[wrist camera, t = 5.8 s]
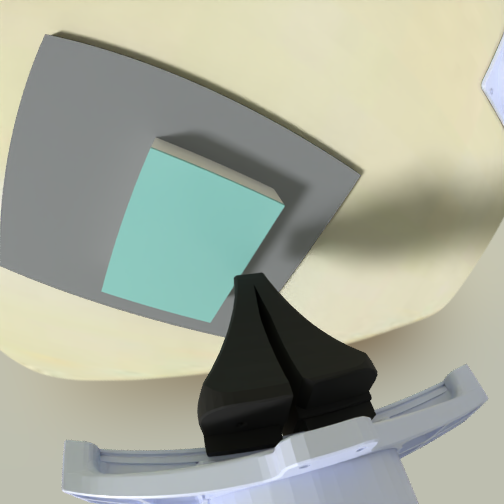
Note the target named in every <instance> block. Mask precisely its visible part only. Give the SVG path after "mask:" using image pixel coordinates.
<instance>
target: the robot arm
mask: <svg viewBox="0 0 504 504" xmlns="http://www.w3.org/2000/svg"><path fill="white" fill-rule="evenodd" d="M481 86H482V90H483V91H484V93H485V95H486V96H487V98H488V100H489V101H490V103H491V105H492V106H493V108H494V110H495V112H496V113H497V115H498V117H499V119H500V121H501V122H502V124H503V126H504V34H503V36H502V39H501V41H500V44H499V46H498V48H497V51H496V53H495V55H494V57H493V60H492V62H491V64H490V66H489V68H488V71H487V73H486V75H485V77H484V79H483V81H482V85H481ZM234 295H235V298H234V305H233V311H232V315H231V320H230V324H229V328H228V331H227V334H226V337H225V340H224V343H223V345H222V348H221V350H220V353H219V355H218V357H217V359H216V361H215V363H214V365H213V367H212V369H211V371H210V373H209V374H208V376H207V378H206V379H205V381H204V383H203V386H202V389H201V393H200V397H199V401H198V420H199V425H200V427H201V430H202V432H203V435H204V442H205V448H195V449H180V450H148V451H147V450H146V451H145V450H143V451H142V450H135V451H134V450H109V449H99V448H98V447H97V446H96V445H95V444H93V443H90V442H86V441H75V440H65V441H64V453H63V468H62V491H63V492H65V493H67V494H70V495H72V496H75V497H77V498H80V499H82V500H85V501H88V502H90V503H97V504H419V503H418V501H417V498H416V496H415V493H414V491H413V488H412V486H411V484H410V481H409V479H408V476H407V474H406V472H405V469H404V467H403V465H402V463H401V460H400V459H401V458H402V457H404V456H406V455H408V454H410V453H412V452H414V451H416V450H418V449H419V448H421V447H423V446H425V445H427V444H428V443H430V442H432V441H433V440H435V439H437V438H438V437H440V436H442V435H443V434H445V433H447V432H448V431H450V430H452V429H453V428H455V427H456V426H458V425H460V424H461V423H463V422H464V421H465V420H467V418H469V417H470V416H471V415H472V414H473V413H474V412H475V411H476V410H478V409H479V408H480V407H481V406H482V405H483V404H484V403H485V402H486V401H487V400H488V397H487V395H486V393H485V392H484V390H483V388H482V387H481V385H480V384H479V382H478V381H477V379H476V377H475V376H474V374H473V373H472V371H471V370H470V368H469V367H468V365H467V364H465V365H463V366H461V367H459V368H457V369H455V370H453V371H451V372H450V373H449V374H448V375H447V376H446V377H445V379H444V381H442V382H440V383H438V384H436V385H434V386H432V387H430V388H428V389H425V390H424V391H421V392H419V393H416V394H414V395H412V396H409V397H407V398H405V399H403V400H400V401H397V402H395V403H392V404H390V405H387V406H384V407H382V408H379V409H376V410H374V409H373V406H372V404H371V402H370V400H371V395H370V392H369V390H370V388H371V386H372V385H373V383H374V381H375V380H376V377H377V370H376V369H375V367H374V365H373V363H372V361H371V360H370V358H369V357H368V356H367V354H366V353H364V352H362V351H359V350H357V349H354V348H352V347H350V346H348V345H346V344H344V343H342V342H340V341H338V340H336V339H334V338H333V337H331V336H330V335H328V334H326V333H325V332H323V331H322V330H320V329H319V328H317V327H316V326H315V325H313V324H312V323H311V322H309V321H308V320H307V319H306V318H304V317H303V316H302V315H301V314H300V313H299V312H298V311H297V310H296V309H294V308H293V307H292V306H291V305H290V304H289V303H288V302H287V301H286V299H285V298H284V297H283V296H282V295H281V294H280V293H279V292H278V291H277V290H276V288H275V287H274V286H273V285H272V284H271V282H270V281H269V280H268V278H267V277H266V276H265V274H264V273H262V272H261V273H253V274H244V275H236V276H235V277H234ZM282 434H283V436H282Z"/></svg>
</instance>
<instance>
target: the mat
mask: <svg viewBox="0 0 504 504" xmlns="http://www.w3.org/2000/svg"><path fill="white" fill-rule="evenodd" d="M155 138H159V139H161V140H164V141H166V142H169V143H171V144H174V145H176V146H179V147H181V148H184V149H186V150H188V151H191V152H193V153H196V154H198V155H200V156H203V157H205V158H207V159H210V160H212V161H214V162H216V163H219V164H221V165H223V166H226V167H228V168H230V169H232V170H234V171H237V172H239V173H241V174H243V175H245V176H248V177H250V178H252V179H254V180H256V181H258V182H261V183H263V184H265V185H267V186H269V187H271V188H273V189H274V190H275V191H276V193H277V194H278V196H279V197H280V199H281V200H282V202H283V204H284V205H285V207H284V208H283V210H282V211H281V213H280V214H279V216H278V218H277V219H276V221H275V222H274V224H273V225H272V227H271V229H270V230H269V232H268V233H267V235H266V236H265V238H264V240H263V241H262V243H261V244H260V246H259V247H258V249H257V251H256V252H255V254H254V255H253V257H252V258H251V260H250V262H249V263H248V265H247V266H246V268H245V269H244V271H243V272H242V274H241V275H244V274H253V273H261V272H262V273H264V274H265V276H266V277H267V278H268V280H269V281H270V282H271V284H272V285H273V286H274V287H275V288H276V290H277V291H278V292H279V291H280V290H281V289H282V287H283V286H284V284H285V283H286V282H287V280H288V279H289V278H290V276H291V275H292V274H293V272H294V271H295V269H296V268H297V267H298V265H299V264H300V263H301V261H302V260H303V258H304V257H305V256H306V254H307V253H308V251H309V250H310V249H311V247H312V246H313V244H314V243H315V242H316V240H317V239H318V237H319V236H320V234H321V233H322V232H323V230H324V229H325V227H326V226H327V224H328V223H329V222H330V220H331V219H332V217H333V216H334V214H335V213H336V211H337V210H338V209H339V207H340V206H341V204H342V203H343V201H344V200H345V198H346V197H347V195H348V194H349V192H350V191H351V189H352V188H353V186H354V185H355V183H356V182H357V180H358V179H359V177H360V176H361V175H360V174H359V173H357V172H356V171H354V170H353V169H352V168H350V167H349V166H347V165H345V164H344V163H342V162H341V161H339V160H338V159H336V158H335V157H333V156H332V155H330V154H328V153H327V152H325V151H324V150H322V149H320V148H319V147H317V146H316V145H314V144H312V143H311V142H309V141H307V140H306V139H304V138H302V137H301V136H299V135H297V134H295V133H294V132H292V131H290V130H288V129H287V128H285V127H283V126H281V125H280V124H278V123H276V122H274V121H272V120H270V119H269V118H267V117H265V116H263V115H261V114H259V113H257V112H255V111H254V110H252V109H250V108H248V107H246V106H244V105H242V104H240V103H238V102H236V101H234V100H232V99H230V98H227V97H225V96H223V95H221V94H219V93H217V92H215V91H213V90H210V89H208V88H206V87H204V86H202V85H199V84H197V83H195V82H192V81H190V80H188V79H185V78H183V77H181V76H178V75H176V74H173V73H171V72H168V71H166V70H163V69H161V68H158V67H155V66H153V65H150V64H147V63H144V62H142V61H139V60H136V59H133V58H130V57H127V56H124V55H121V54H118V53H115V52H112V51H109V50H105V49H102V48H99V47H95V46H92V45H88V44H85V43H81V42H77V41H73V40H69V39H65V38H61V37H56V36H52V35H46V34H45V36H44V38H43V41H42V43H41V45H40V48H39V50H38V53H37V55H36V58H35V60H34V63H33V65H32V68H31V71H30V74H29V77H28V80H27V83H26V86H25V89H24V92H23V95H22V99H21V102H20V106H19V109H18V113H17V117H16V121H15V125H14V129H13V134H12V138H11V143H10V148H9V153H8V159H7V165H6V172H5V179H4V187H3V196H2V207H1V222H0V266H1V267H4V268H6V269H8V270H11V271H13V272H15V273H18V274H20V275H23V276H25V277H28V278H30V279H33V280H35V281H38V282H40V283H43V284H46V285H48V286H51V287H54V288H56V289H59V290H62V291H65V292H68V293H70V294H73V295H76V296H79V297H82V298H85V299H88V300H91V301H94V302H97V303H100V304H103V305H106V306H109V307H113V308H116V309H119V310H122V311H126V312H129V313H132V314H136V315H139V316H143V317H146V318H150V319H153V320H157V321H161V322H164V323H168V324H172V325H176V326H180V327H184V328H188V329H192V330H196V331H200V332H204V333H208V334H213V335H217V336H222V337H226V334H227V331H228V328H229V324H230V320H231V315H232V311H233V305H234V298H235V295H234V287H233V288H232V290H231V291H230V293H229V294H228V296H227V298H226V299H225V301H224V302H223V304H222V305H221V307H220V308H219V310H218V312H217V313H216V315H215V316H214V318H213V319H212V321H211V323H209V322H205V321H201V320H197V319H193V318H190V317H186V316H182V315H178V314H175V313H171V312H167V311H164V310H160V309H157V308H153V307H150V306H146V305H143V304H140V303H136V302H133V301H130V300H127V299H123V298H120V297H117V296H114V295H111V294H108V293H105V292H101V291H102V287H103V284H104V280H105V276H106V272H107V269H108V265H109V262H110V258H111V255H112V252H113V248H114V245H115V242H116V239H117V236H118V233H119V230H120V226H121V223H122V221H123V218H124V215H125V212H126V209H127V206H128V203H129V201H130V198H131V195H132V193H133V190H134V187H135V185H136V182H137V179H138V177H139V174H140V172H141V169H142V167H143V165H144V162H145V160H146V157H147V155H148V153H149V150H150V148H151V146H152V144H153V142H154V140H155Z"/></svg>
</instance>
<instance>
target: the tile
mask: <svg viewBox="0 0 504 504" xmlns="http://www.w3.org/2000/svg"><path fill="white" fill-rule="evenodd" d="M284 207H285V205H284V204H283V202H282V200H281V199H280V197H279V196H278V194H277V193H276V191H275V190H274V189H273V188H271V187H269V186H267V185H265V184H263V183H261V182H258V181H256V180H254V179H252V178H250V177H248V176H245V175H243V174H241V173H239V172H237V171H234V170H232V169H230V168H228V167H226V166H223V165H221V164H219V163H216V162H214V161H212V160H210V159H207V158H205V157H203V156H200V155H198V154H196V153H193V152H191V151H188V150H186V149H184V148H181V147H179V146H176V145H174V144H171V143H169V142H166V141H164V140H161V139H159V138H155V140H154V142H153V144H152V146H151V148H150V150H149V153H148V155H147V157H146V160H145V162H144V165H143V167H142V169H141V172H140V174H139V177H138V179H137V182H136V185H135V187H134V190H133V193H132V195H131V198H130V201H129V203H128V206H127V209H126V212H125V215H124V218H123V221H122V223H121V226H120V230H119V233H118V236H117V239H116V242H115V245H114V248H113V252H112V255H111V258H110V262H109V265H108V269H107V272H106V276H105V280H104V284H103V287H102V291H101V292H105V293H108V294H111V295H114V296H117V297H120V298H123V299H127V300H130V301H133V302H136V303H140V304H143V305H146V306H150V307H153V308H157V309H160V310H164V311H167V312H171V313H175V314H178V315H182V316H186V317H190V318H193V319H197V320H201V321H205V322H209V323H211V321H212V319H213V318H214V316H215V315H216V313H217V312H218V310H219V308H220V307H221V305H222V304H223V302H224V301H225V299H226V298H227V296H228V294H229V293H230V291H231V290H232V288H233V287H234V277H235V276H236V275H241V274H242V272H243V271H244V269H245V268H246V266H247V265H248V263H249V262H250V260H251V258H252V257H253V255H254V254H255V252H256V251H257V249H258V247H259V246H260V244H261V243H262V241H263V240H264V238H265V236H266V235H267V233H268V232H269V230H270V229H271V227H272V225H273V224H274V222H275V221H276V219H277V218H278V216H279V214H280V213H281V211H282V210H283V208H284Z"/></svg>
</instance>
